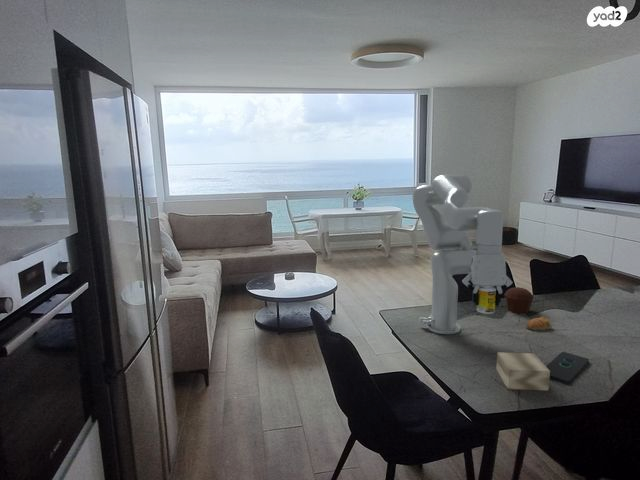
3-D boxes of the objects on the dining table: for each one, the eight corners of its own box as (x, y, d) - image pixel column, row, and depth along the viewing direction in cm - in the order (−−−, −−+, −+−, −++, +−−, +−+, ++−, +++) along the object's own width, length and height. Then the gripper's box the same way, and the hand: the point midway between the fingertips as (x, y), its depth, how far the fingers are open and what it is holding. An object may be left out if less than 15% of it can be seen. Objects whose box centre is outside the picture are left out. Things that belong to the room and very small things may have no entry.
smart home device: (590, 358, 132) (569, 381, 119) (589, 363, 132) (569, 386, 119) (562, 350, 138) (539, 371, 125) (561, 355, 138) (538, 376, 125)
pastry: (535, 333, 156) (536, 323, 155) (521, 327, 162) (521, 318, 161) (553, 329, 159) (553, 319, 158) (538, 323, 165) (538, 314, 165)
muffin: (498, 309, 180) (500, 288, 179) (510, 304, 187) (511, 283, 186) (526, 317, 171) (527, 294, 170) (537, 310, 179) (538, 288, 177)
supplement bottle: (487, 315, 127) (489, 284, 125) (472, 310, 132) (473, 280, 130) (498, 312, 130) (500, 281, 128) (483, 307, 135) (484, 277, 133)
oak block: (508, 388, 117) (509, 369, 116) (496, 370, 128) (497, 352, 127) (548, 390, 116) (550, 371, 115) (533, 371, 127) (534, 353, 126)
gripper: (462, 251, 125) (460, 307, 128) (521, 251, 123) (518, 308, 126) (457, 247, 132) (455, 300, 135) (513, 247, 130) (510, 301, 133)
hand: (486, 303), depth 130 cm, fingers closed on supplement bottle, 5 cm apart
